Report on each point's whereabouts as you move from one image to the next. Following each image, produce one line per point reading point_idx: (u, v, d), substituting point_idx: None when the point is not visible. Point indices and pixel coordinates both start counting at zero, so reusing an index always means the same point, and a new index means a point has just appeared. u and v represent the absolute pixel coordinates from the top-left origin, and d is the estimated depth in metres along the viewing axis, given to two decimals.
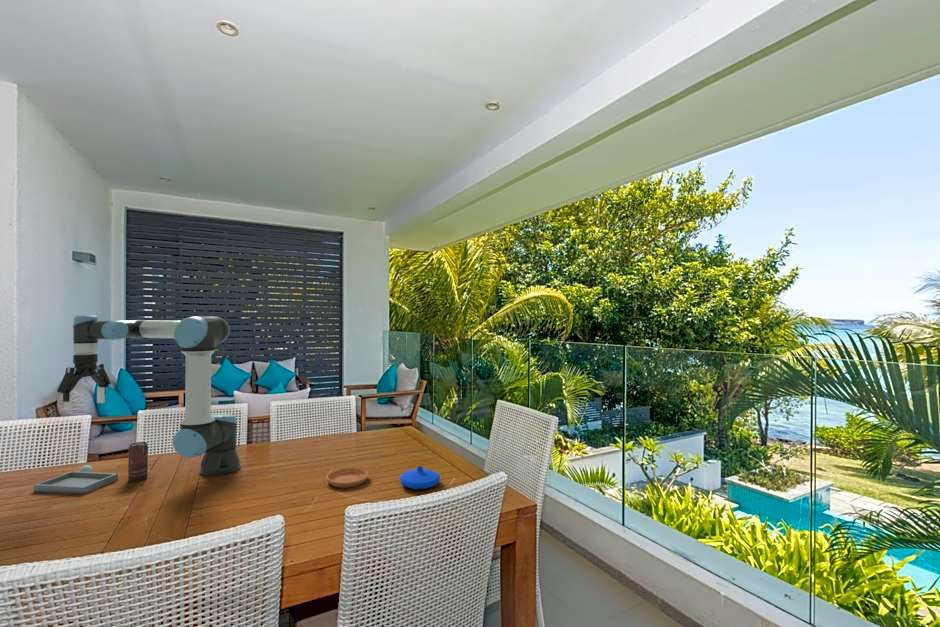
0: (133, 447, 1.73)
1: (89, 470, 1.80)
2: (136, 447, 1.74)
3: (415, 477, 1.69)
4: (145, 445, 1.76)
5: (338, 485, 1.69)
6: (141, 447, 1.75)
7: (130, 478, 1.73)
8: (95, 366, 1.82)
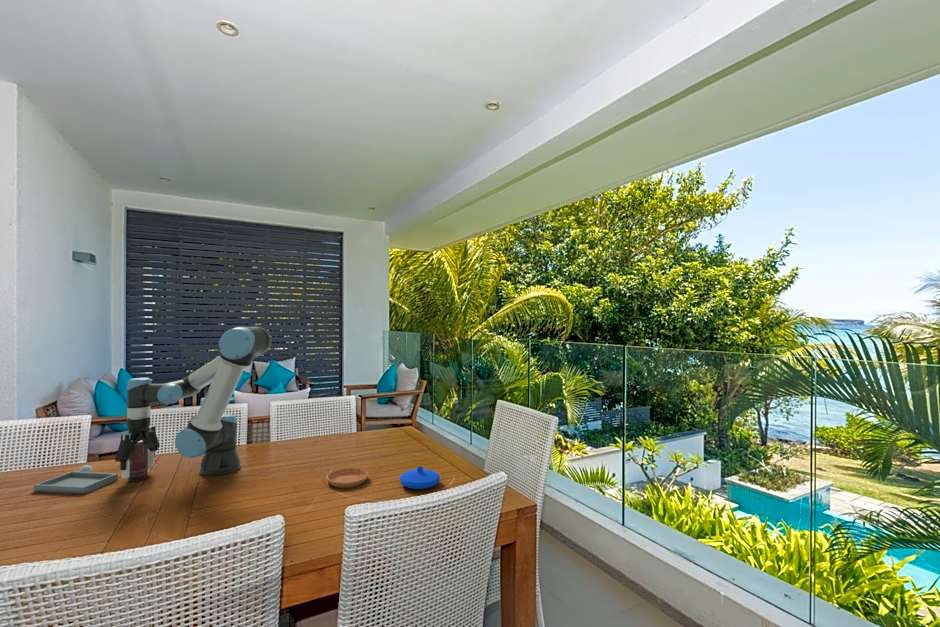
0: None
1: (89, 470, 1.80)
2: (136, 447, 1.74)
3: (415, 477, 1.69)
4: (145, 445, 1.76)
5: (338, 485, 1.69)
6: (141, 447, 1.75)
7: (130, 478, 1.73)
8: (147, 429, 1.79)
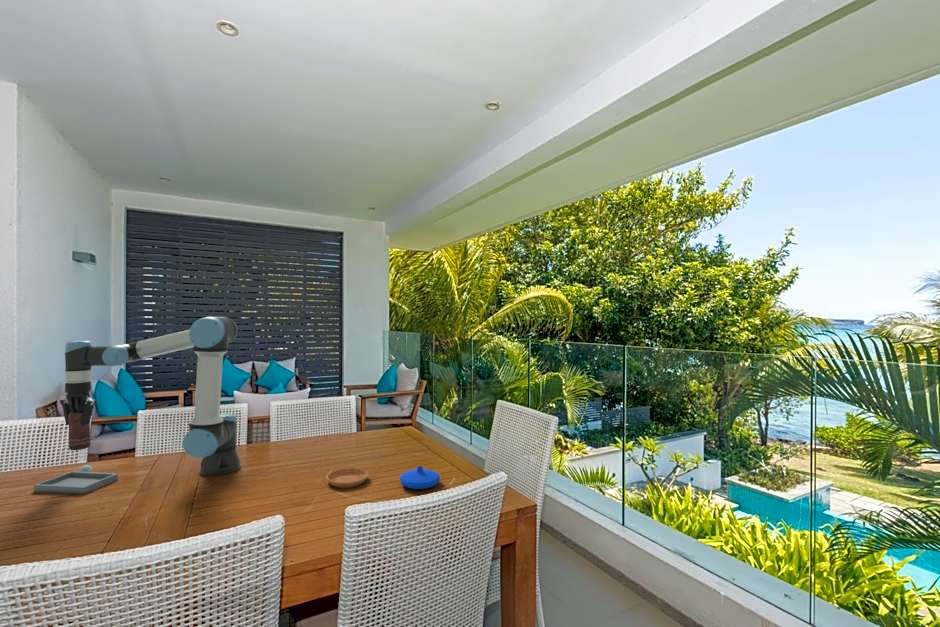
0: None
1: (89, 470, 1.80)
2: (69, 414, 1.68)
3: (415, 477, 1.69)
4: (72, 415, 1.67)
5: (338, 485, 1.69)
6: (69, 415, 1.67)
7: None
8: (83, 397, 1.67)
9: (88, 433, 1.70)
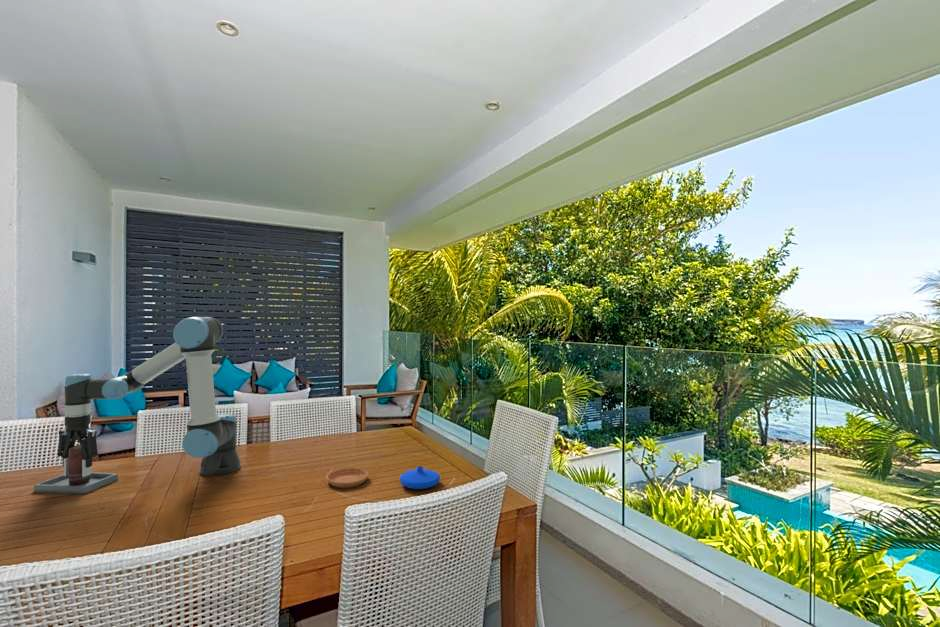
0: None
1: None
2: None
3: (415, 477, 1.69)
4: (72, 450, 1.67)
5: (338, 485, 1.69)
6: (69, 450, 1.67)
7: None
8: (82, 430, 1.68)
9: None
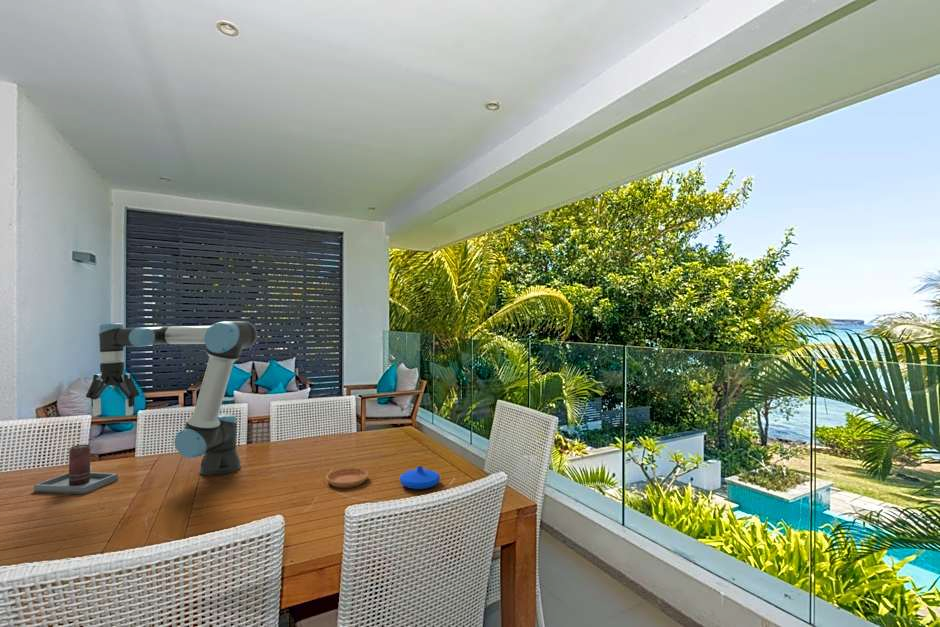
0: None
1: None
2: (70, 448, 1.68)
3: (415, 477, 1.69)
4: (73, 450, 1.67)
5: (338, 485, 1.69)
6: None
7: None
8: (117, 376, 1.76)
9: (88, 468, 1.70)
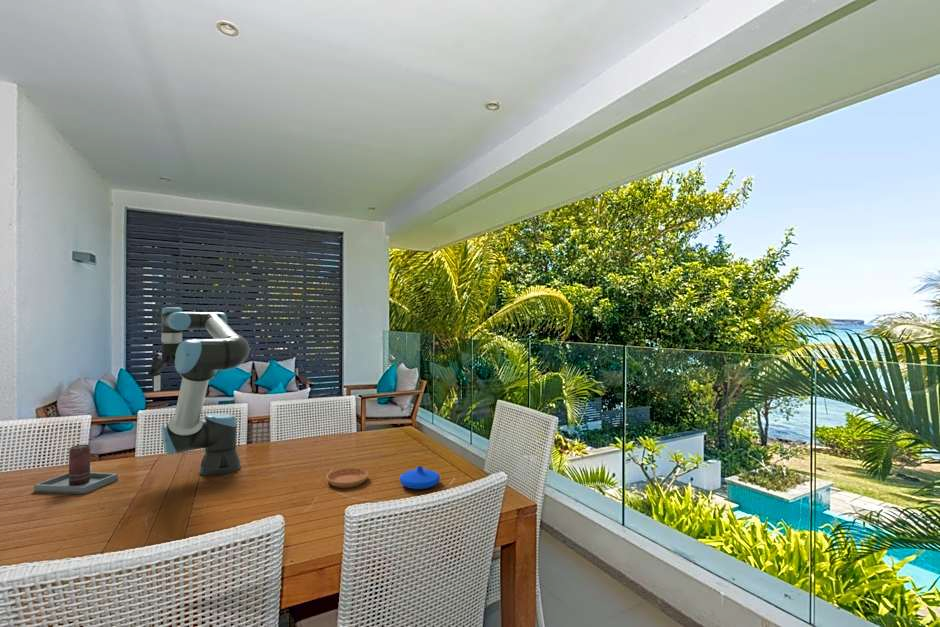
0: None
1: None
2: (70, 449, 1.68)
3: (415, 477, 1.69)
4: (73, 450, 1.67)
5: (338, 485, 1.69)
6: None
7: None
8: None
9: (88, 468, 1.70)
